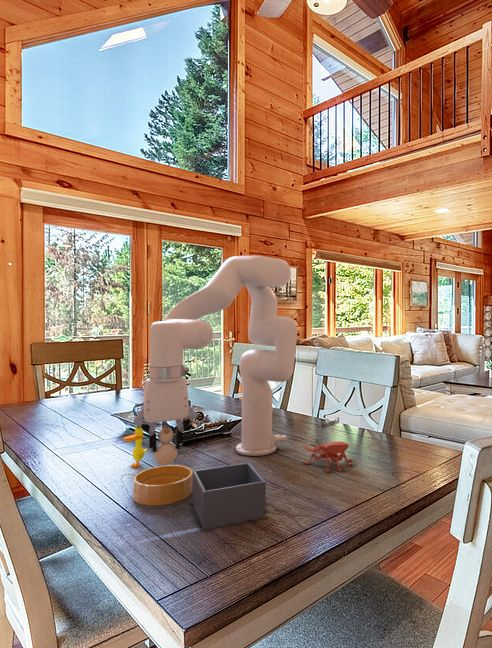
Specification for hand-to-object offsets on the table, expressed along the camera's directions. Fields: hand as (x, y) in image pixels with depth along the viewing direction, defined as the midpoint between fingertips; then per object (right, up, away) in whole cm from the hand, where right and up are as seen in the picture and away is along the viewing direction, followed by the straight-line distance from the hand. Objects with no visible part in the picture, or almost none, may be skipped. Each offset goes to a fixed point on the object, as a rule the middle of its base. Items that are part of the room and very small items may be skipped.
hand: (165, 448), depth 107 cm
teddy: (0, -4, 0) cm, 4 cm away
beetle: (+38, -12, +23) cm, 46 cm away
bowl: (0, -11, -1) cm, 11 cm away
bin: (+17, -11, -8) cm, 22 cm away
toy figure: (-16, -12, +19) cm, 27 cm away
